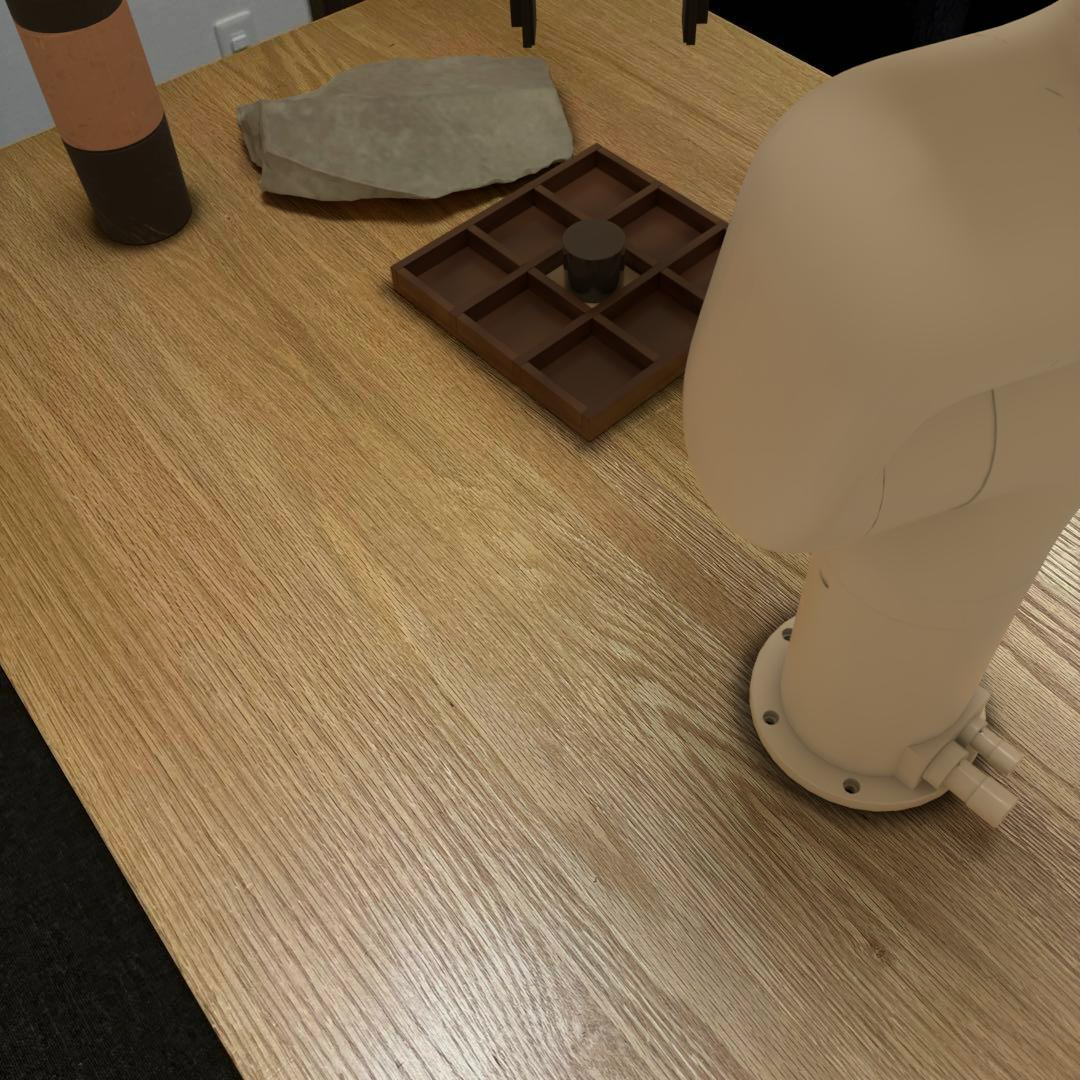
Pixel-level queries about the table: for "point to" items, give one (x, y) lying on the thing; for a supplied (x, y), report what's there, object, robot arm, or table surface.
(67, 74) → the travel mug
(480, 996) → the table surface
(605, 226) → the dark cylinder
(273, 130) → the rock
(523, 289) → the board
